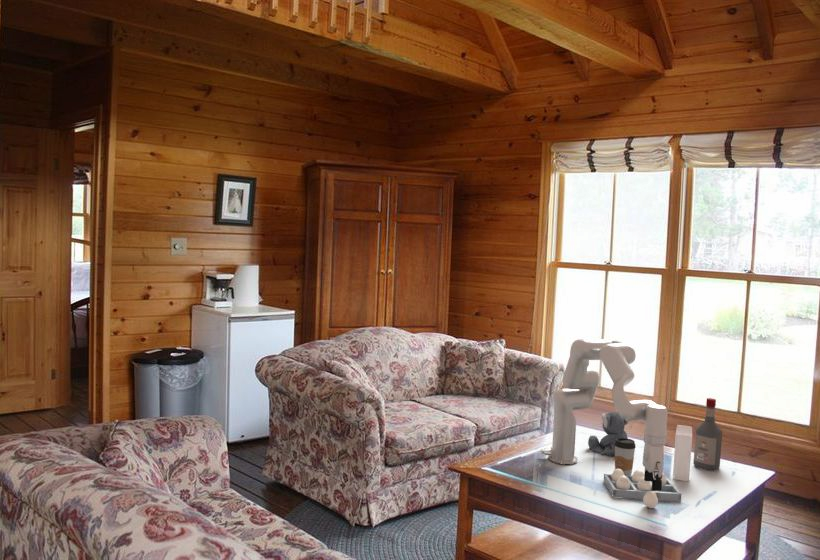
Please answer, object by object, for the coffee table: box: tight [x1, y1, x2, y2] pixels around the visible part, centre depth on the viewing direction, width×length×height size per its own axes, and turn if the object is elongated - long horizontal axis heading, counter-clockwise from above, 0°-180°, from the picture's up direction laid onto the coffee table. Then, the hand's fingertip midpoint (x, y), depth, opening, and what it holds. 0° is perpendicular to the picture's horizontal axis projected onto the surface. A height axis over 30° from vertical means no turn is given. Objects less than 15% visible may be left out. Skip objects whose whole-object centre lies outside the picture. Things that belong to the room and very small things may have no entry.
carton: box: [603, 468, 683, 502], centre depth 269 cm, size 25×17×7 cm
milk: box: [672, 424, 693, 482], centre depth 285 cm, size 6×6×22 cm
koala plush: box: [587, 411, 630, 457], centre depth 315 cm, size 17×18×20 cm
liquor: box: [693, 397, 723, 472], centre depth 300 cm, size 9×9×30 cm
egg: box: [642, 491, 659, 509], centre depth 253 cm, size 5×5×6 cm
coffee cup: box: [614, 438, 636, 476], centre depth 285 cm, size 8×8×15 cm
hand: (652, 485), depth 252 cm, fingers open, 9 cm apart
